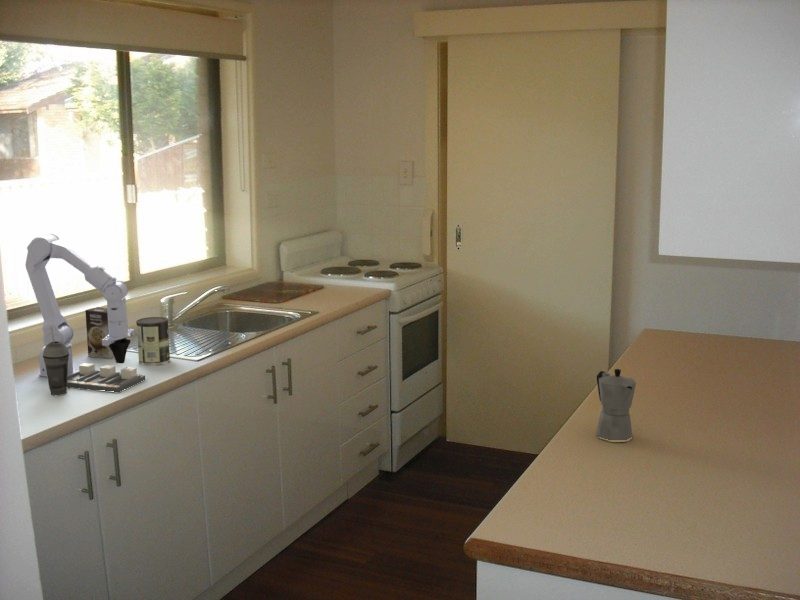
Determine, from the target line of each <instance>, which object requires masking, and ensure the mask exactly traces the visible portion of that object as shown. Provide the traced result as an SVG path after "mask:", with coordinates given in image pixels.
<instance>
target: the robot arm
mask: <svg viewBox="0 0 800 600" xmlns="http://www.w3.org/2000/svg"><path fill="white" fill-rule="evenodd" d="M26 249H27V255H26V259H25V269H26V272H27V275H28V278H29V280H30V284H31V286H32V289H33V294H34V297H35V298H36V301H37V304H38V307H39V310H40V313H41V316H42V319H43V323H42V326H41V327H42V333H43V335H42V336H43V337H42V342H43V343H44V345H45V346H43V347H41V349H40V350H39V355H38V358H39V359H38V360H39V373H38V376H39V377H46V378H48V377H47V371H46V365H45V362H44V358H43V352H44V349H45V347H46V346H47V345H48V344H49V343H51V342H53V341H52V334H51V326H52V328H53V335H54V341H58V342H61V343H63V344H64V345H65V346H66V347H67V349H68V352H69V360H68V375H70V374H72V373H75V372H77V371H79V369H78V370H77V369H74V366H73V365H74V362H73V350H72V349H73V348H72V343H71V340H72V339H73V338H74V329H73V328H72V326H71V325H70V324H69V323H68V320H67V318H66V317H64V316H63V315H62V313H61V310H60V307H59V304H58V301H57V298H56V295H55V292H54V289H53V286H52V283H51V281H50V277H49V275H48V271H47V269H46V266H47V264H48V263H49V261H50V260H51V259H62V260H64V261H65V262H67V264H69V265H70V266H72V267H73V268H75V269H77V270H78V271H79V272H81V273H82V274H83V276H84V280H85V282H88V284H90V285H91V286H92V287H94V288H95V289H97V290H98V291H99V292H100V293H102V296H103V298H104V300H105V301H106V305H107V306H106V308H107V312H108V328H109V335H108V336H106V337H105V338H104V339H102V346H109V347H110V349H111V350H112V352H113V355H114V360H115V362H116V364H121V365H122V364H124V363H125V360H126V357H127V350H128V348H129V347H130V344H131V339H129V338H131V337H134V336H135V335H136V334H135V333H136V332H135V329H133V328H128V313H127V299H126V296H127V295H128V291H129V289H128V287H127V284H125V282H124V281H122V280H118V279H117V278H116V277H113V276H111V275H110V274H109V273H107V271H105V269H106V268H104V267H103V266H99V265H91V264H90V263H89V262H88V261H86V260H85V259H84V258H83V257H82V256H81V255H80V254H78V253H77V251H75V250H74V249H73V248H72V247H70V246H69V245H68V244H67V242H66V241H65V240H64V239H62V238H59V236H58V235H56V234H54V233H46V234H44V235H42V236H39V237H38V236H37V237H35V238H33V239H32V240H31V241H30V242H29V244H28V246H27V247H26Z"/></svg>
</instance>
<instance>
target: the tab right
mask: <svg viewBox="0 0 800 600" xmlns="http://www.w3.org/2000/svg"><path fill="white" fill-rule="evenodd" d="M120 373H121V379H130V378H132V377H134V376H137V375H138V372H137V367H130V366H129V367H128V366H125V367H124V368H122V369H120Z"/></svg>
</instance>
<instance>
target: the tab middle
mask: <svg viewBox="0 0 800 600" xmlns="http://www.w3.org/2000/svg"><path fill="white" fill-rule="evenodd" d="M116 370H117V369H116V365H109V364H105V365H103V366H100V367H99V371H100V376H102V377H108V376H111V375H113V374H115V373H117V372H116Z"/></svg>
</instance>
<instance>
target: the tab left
mask: <svg viewBox="0 0 800 600" xmlns="http://www.w3.org/2000/svg"><path fill="white" fill-rule="evenodd" d="M95 365H96V364H95V363H91V362H90V363H88V362H86V363H85V362H84V363H81V364H79V365H78V370H79V374H82V375H87V374H89V373H92V372H94V371H95V370H96V366H95Z"/></svg>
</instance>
